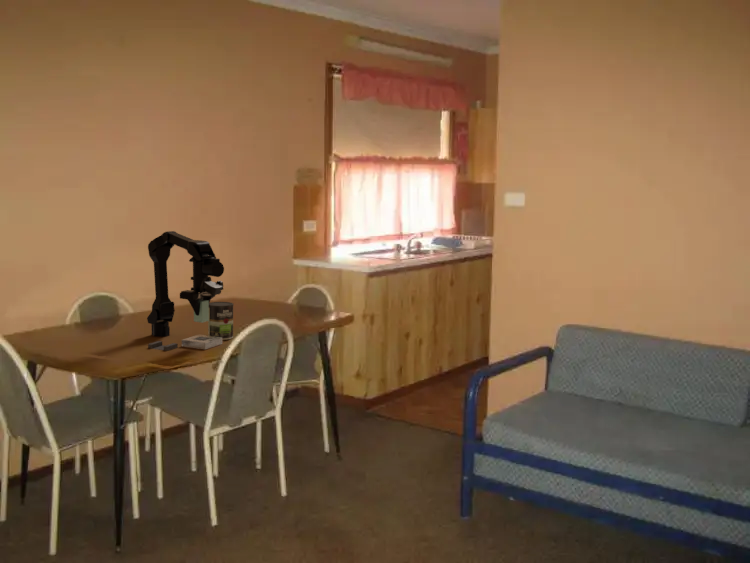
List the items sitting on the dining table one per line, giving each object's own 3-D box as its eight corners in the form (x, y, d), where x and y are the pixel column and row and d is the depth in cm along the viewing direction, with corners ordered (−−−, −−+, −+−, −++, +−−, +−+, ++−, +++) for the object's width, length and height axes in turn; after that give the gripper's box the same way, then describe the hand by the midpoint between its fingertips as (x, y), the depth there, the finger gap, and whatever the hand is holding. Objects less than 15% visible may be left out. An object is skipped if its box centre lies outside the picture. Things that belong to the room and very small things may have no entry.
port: (181, 348, 312) (181, 339, 312) (199, 343, 322) (199, 334, 322) (205, 352, 308) (205, 343, 307) (222, 346, 318) (222, 337, 317)
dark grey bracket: (148, 350, 308) (148, 344, 308) (158, 347, 314) (158, 341, 313) (167, 353, 305) (167, 346, 304) (177, 350, 310) (177, 343, 310)
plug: (193, 321, 312) (193, 297, 311) (200, 319, 316) (199, 295, 314) (202, 322, 311) (202, 298, 309) (208, 320, 314) (208, 296, 313)
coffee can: (237, 338, 332) (237, 304, 330) (214, 341, 326) (214, 306, 324) (226, 333, 340) (226, 300, 338) (203, 336, 334) (203, 302, 332)
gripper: (202, 278, 299) (203, 320, 301) (232, 273, 316) (232, 312, 318) (178, 276, 303) (179, 317, 306) (208, 270, 320) (209, 309, 322)
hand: (201, 314), depth 313 cm, fingers closed on plug, 4 cm apart
